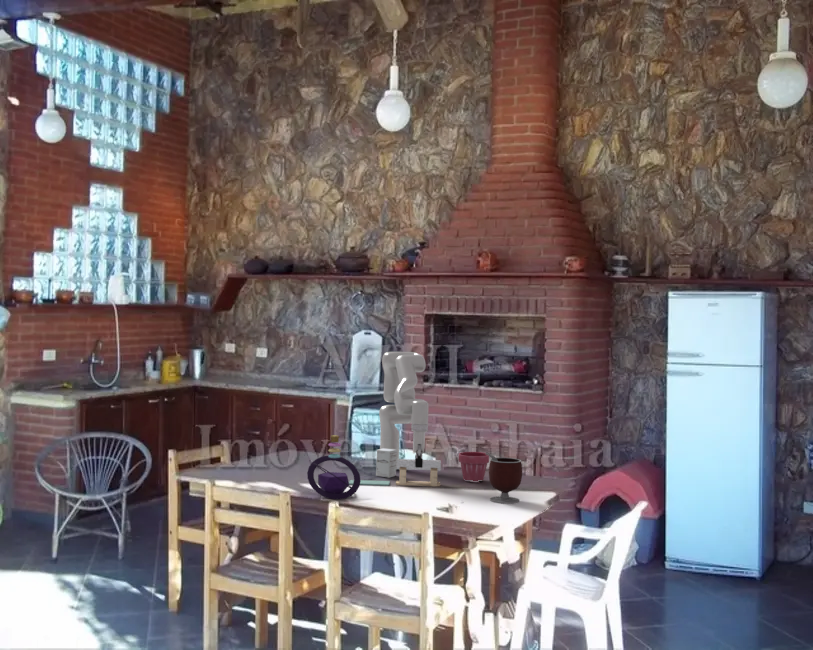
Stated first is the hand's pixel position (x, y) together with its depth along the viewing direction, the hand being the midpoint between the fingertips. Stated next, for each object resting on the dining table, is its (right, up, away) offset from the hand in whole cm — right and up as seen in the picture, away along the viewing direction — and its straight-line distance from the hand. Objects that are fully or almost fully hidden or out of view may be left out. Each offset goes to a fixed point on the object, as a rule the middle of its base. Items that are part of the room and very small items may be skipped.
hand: (418, 465), depth 398 cm
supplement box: (-15, -8, +20) cm, 27 cm away
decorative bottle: (-36, -8, -29) cm, 47 cm away
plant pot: (+26, -10, +13) cm, 30 cm away
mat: (-22, -8, 0) cm, 24 cm away
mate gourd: (+35, -10, -31) cm, 47 cm away
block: (0, -2, 0) cm, 2 cm away
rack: (0, -9, 0) cm, 9 cm away
